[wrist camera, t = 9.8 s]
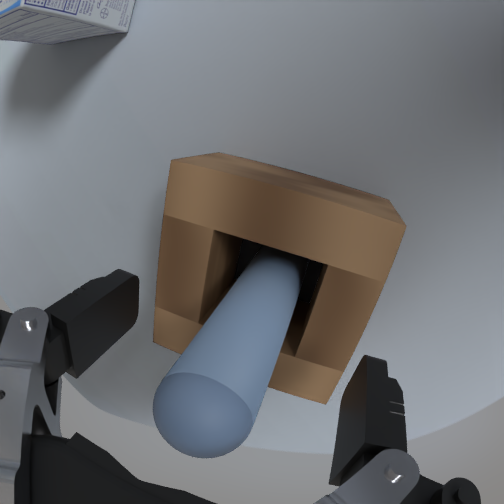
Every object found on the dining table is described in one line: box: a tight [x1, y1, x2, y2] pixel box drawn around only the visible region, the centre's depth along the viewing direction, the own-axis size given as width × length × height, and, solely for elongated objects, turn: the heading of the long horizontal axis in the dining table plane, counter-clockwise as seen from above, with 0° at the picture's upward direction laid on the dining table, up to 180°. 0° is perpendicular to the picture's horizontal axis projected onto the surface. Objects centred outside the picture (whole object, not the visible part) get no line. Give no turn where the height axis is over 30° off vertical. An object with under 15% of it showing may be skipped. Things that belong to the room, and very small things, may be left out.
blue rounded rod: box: [153, 245, 309, 458], centre depth 12 cm, size 3×3×12 cm
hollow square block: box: [153, 153, 406, 404], centre depth 15 cm, size 9×9×5 cm
